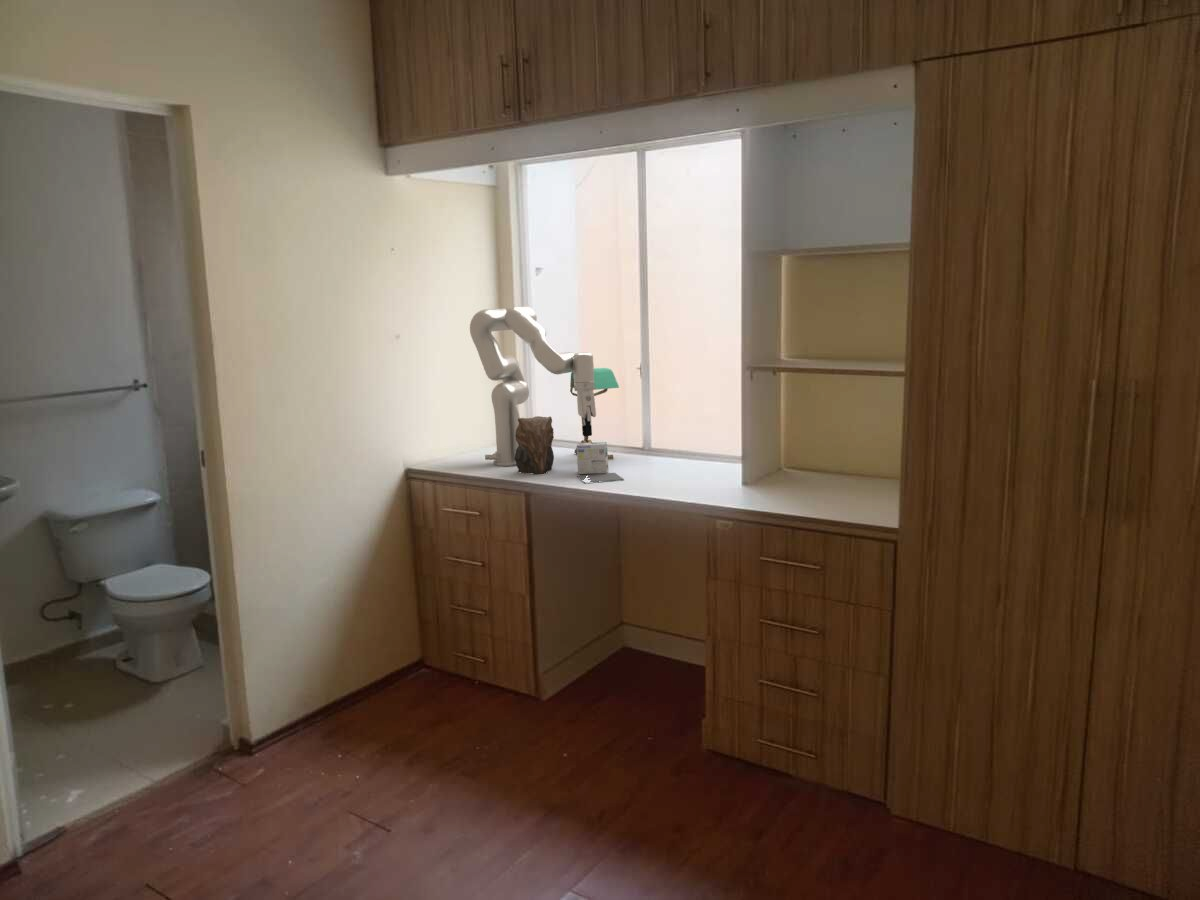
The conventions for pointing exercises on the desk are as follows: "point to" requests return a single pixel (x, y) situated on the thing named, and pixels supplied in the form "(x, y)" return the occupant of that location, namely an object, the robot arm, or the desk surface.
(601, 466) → the light bulb box
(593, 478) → the mat
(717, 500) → the desk surface
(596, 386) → the banker's lamp
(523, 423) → the owl
